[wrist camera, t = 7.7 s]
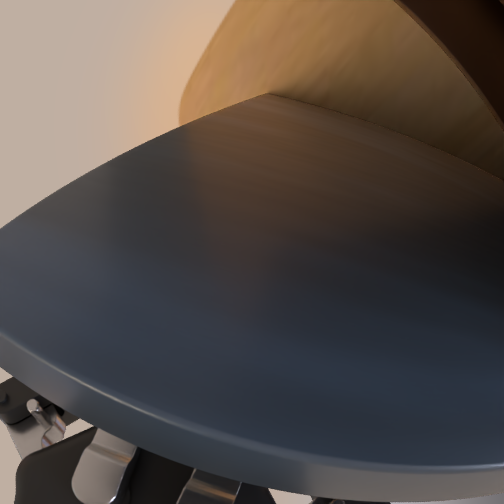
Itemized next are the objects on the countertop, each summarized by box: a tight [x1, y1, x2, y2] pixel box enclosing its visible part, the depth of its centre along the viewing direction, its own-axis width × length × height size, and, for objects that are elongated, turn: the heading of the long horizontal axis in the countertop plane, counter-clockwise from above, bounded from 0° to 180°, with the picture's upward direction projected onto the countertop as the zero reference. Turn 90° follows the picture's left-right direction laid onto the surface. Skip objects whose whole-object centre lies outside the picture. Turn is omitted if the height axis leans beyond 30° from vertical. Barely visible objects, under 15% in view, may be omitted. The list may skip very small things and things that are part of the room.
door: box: [0, 94, 504, 502], centre depth 14 cm, size 7×26×24 cm, turn 79°
